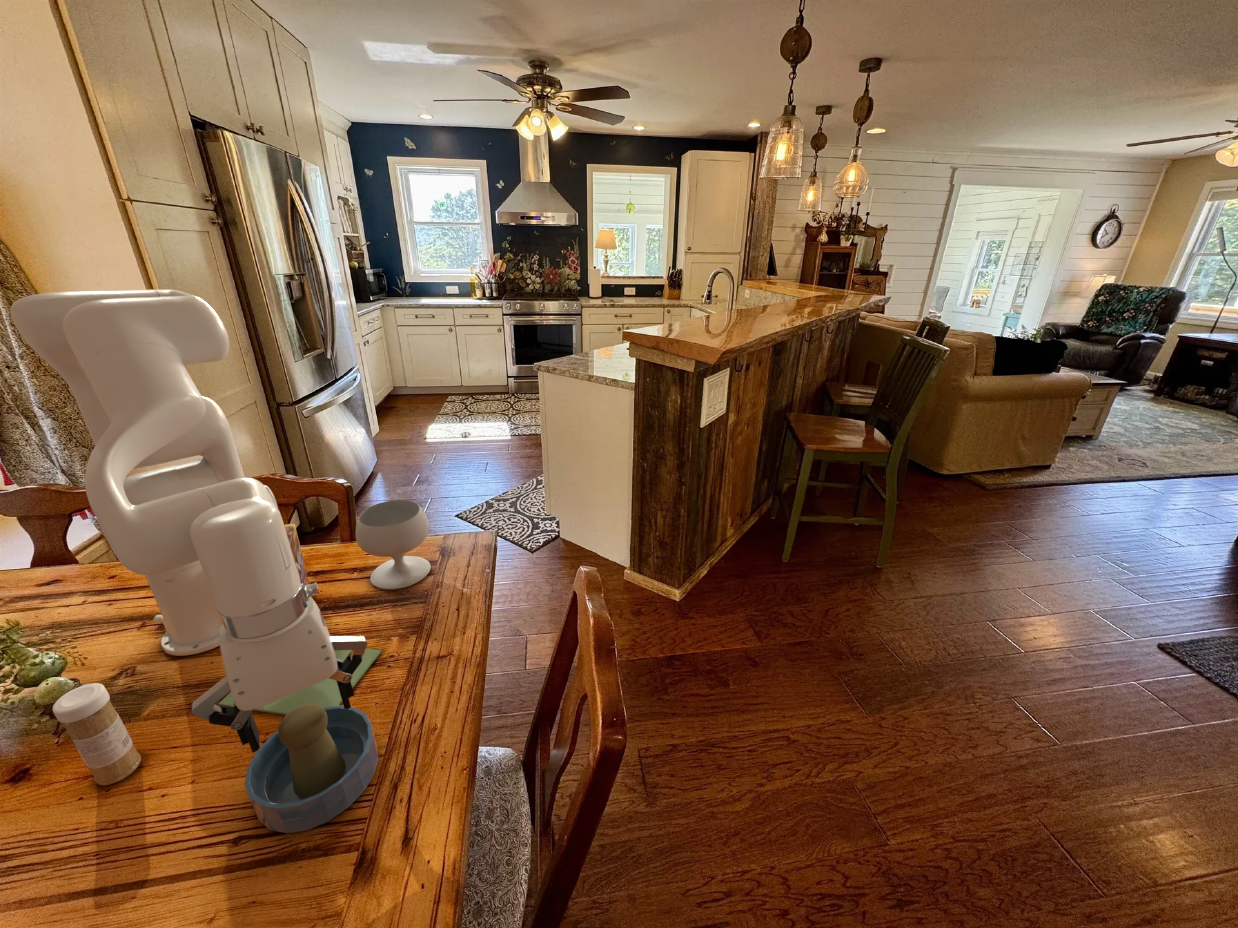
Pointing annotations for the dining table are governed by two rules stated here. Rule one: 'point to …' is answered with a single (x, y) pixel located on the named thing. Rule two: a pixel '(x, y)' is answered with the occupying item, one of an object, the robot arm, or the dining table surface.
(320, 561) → the dining table surface
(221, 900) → the dining table surface
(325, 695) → the mat
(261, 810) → the bowl
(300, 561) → the candy box
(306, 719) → the cork
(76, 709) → the sprinkles bottle
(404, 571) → the chalice
